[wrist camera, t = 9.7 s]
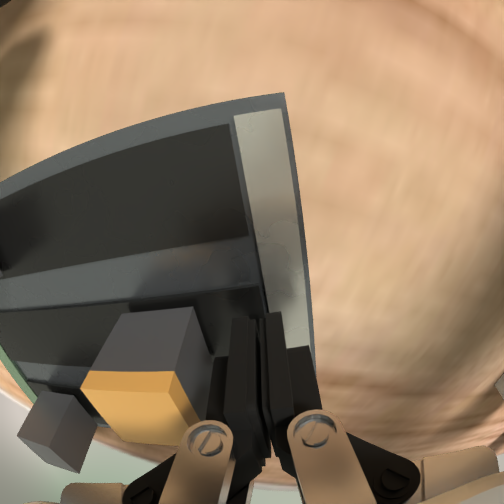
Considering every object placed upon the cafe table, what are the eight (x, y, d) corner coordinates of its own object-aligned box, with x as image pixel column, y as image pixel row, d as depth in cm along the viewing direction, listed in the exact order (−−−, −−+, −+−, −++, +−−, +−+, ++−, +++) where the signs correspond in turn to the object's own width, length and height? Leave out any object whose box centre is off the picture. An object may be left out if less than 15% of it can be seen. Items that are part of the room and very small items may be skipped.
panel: (280, 96, 9) (285, 91, 8) (314, 404, 16) (318, 426, 14) (-48, 214, 11) (-65, 224, 9) (51, 402, 17) (43, 417, 16)
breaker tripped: (193, 306, 10) (168, 392, 7) (213, 364, 12) (201, 446, 8) (122, 313, 11) (80, 388, 7) (148, 367, 12) (123, 441, 8)
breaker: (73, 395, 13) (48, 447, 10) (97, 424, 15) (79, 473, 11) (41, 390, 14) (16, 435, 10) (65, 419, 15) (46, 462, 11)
